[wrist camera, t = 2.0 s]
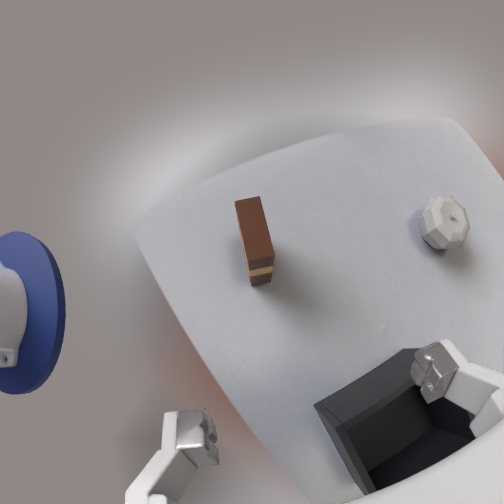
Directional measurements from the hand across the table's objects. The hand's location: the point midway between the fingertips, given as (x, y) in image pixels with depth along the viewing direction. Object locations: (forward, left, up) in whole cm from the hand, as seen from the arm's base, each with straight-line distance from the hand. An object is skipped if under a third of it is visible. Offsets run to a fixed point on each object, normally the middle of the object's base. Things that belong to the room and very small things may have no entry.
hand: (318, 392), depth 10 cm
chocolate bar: (+3, +12, -25) cm, 28 cm away
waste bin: (+8, -14, -25) cm, 30 cm away
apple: (+28, +4, -25) cm, 38 cm away
